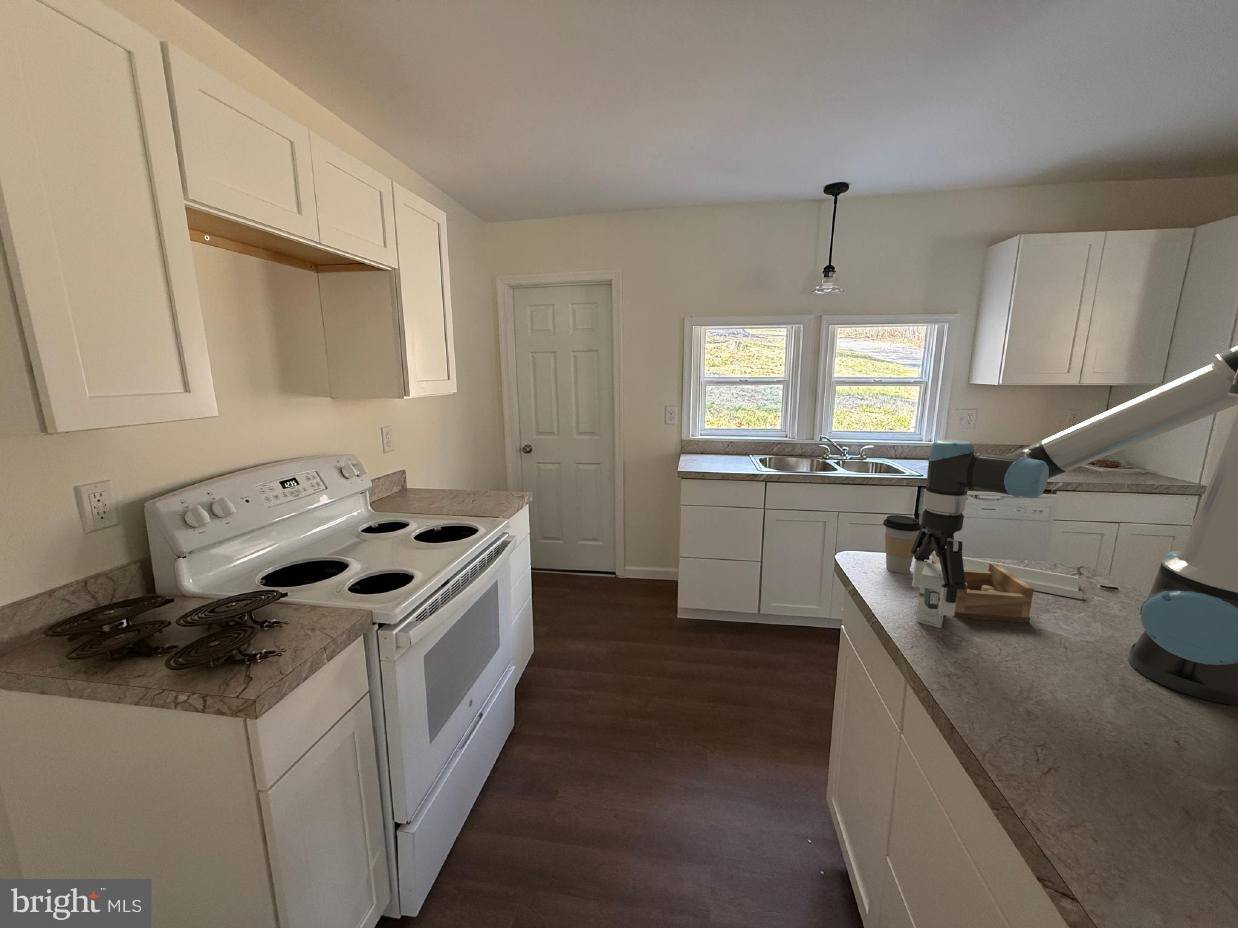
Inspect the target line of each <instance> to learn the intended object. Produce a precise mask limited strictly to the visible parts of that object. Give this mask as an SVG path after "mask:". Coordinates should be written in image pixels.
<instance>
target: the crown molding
mask: <svg viewBox="0 0 1238 928" xmlns="http://www.w3.org/2000/svg"><path fill="white" fill-rule="evenodd" d="M931 557H932V558H931V562H930V563H932V560H937V561H940V560H939V557H937V556H936V553H935V551H933V553H932V554H931ZM962 558H963V567H964V570H982V571H988V570H989V563H992V564H997V565H999V566H1000V567H1002V568H1003V569H1005V570H1007V571H1008V572H1010V573H1011V574H1013V575H1014V576H1016V577H1017V578H1019V579H1020V580H1022V581H1023V582H1025V583H1026V584H1028V585H1029V586H1031V587H1032V588H1034V591H1035V592H1041V593H1047V594H1051V595H1056V596H1062V597H1067V598H1071V599H1077V600H1080V601H1081V600H1083V599H1084V598H1083V597H1084V596H1083V595H1084V594H1083V591H1079V577H1078V576H1075V575H1069V574H1063V573H1058V572H1053V571H1047V570H1040V569H1035V568H1029V567H1024V566H1017V565H1012V564H1011V565H1010V564H1006V563H1000V562H995V561H988V560H984V559H977V558H970V557H966V556H962Z"/></svg>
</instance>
